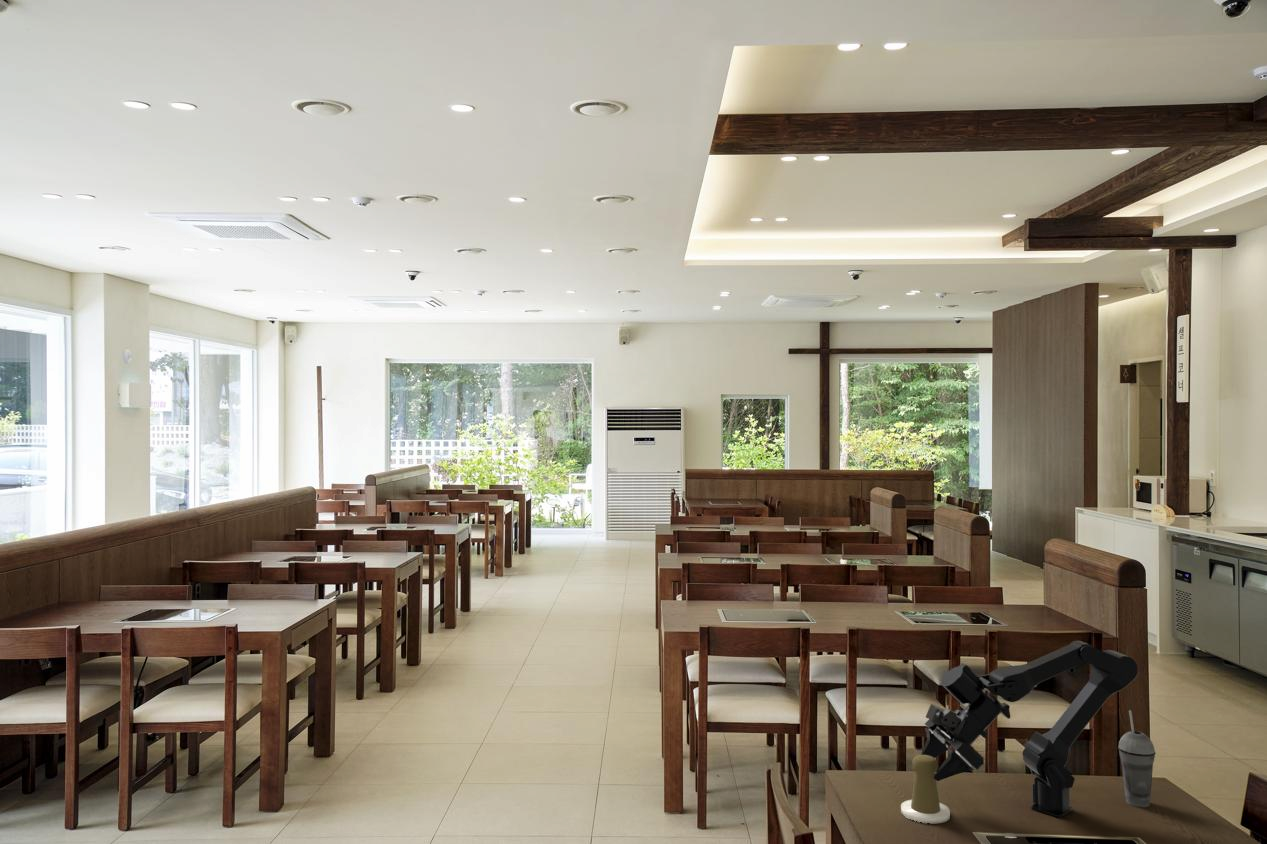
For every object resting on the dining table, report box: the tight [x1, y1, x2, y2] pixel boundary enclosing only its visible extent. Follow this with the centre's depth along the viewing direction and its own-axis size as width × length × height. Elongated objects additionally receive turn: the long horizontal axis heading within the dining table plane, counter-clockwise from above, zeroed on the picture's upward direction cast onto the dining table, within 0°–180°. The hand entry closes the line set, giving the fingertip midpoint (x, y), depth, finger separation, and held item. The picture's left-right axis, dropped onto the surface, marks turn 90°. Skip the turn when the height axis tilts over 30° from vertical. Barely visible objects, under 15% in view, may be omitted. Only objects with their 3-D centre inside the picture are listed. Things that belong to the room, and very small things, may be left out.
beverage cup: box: [1117, 710, 1157, 808], centre depth 200 cm, size 7×7×20 cm
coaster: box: [900, 799, 951, 825], centre depth 195 cm, size 10×10×1 cm
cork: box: [911, 754, 940, 814], centre depth 196 cm, size 6×6×11 cm
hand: (926, 771), depth 196 cm, fingers open, 9 cm apart
